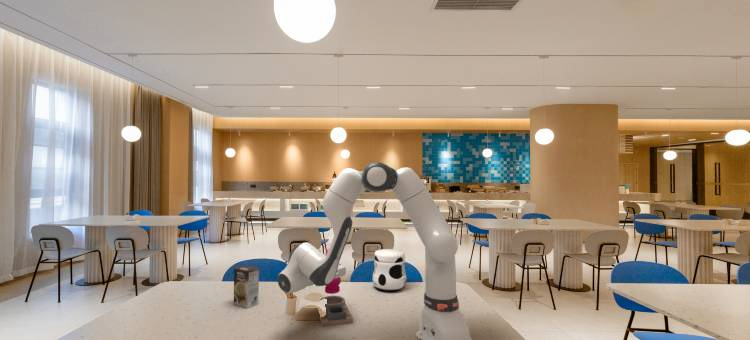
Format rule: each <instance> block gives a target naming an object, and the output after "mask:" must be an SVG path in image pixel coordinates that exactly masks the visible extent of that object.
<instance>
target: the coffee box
mask: <svg viewBox="0 0 750 340" xmlns="http://www.w3.org/2000/svg"><path fill="white" fill-rule="evenodd" d="M259 276H260V268H259V267H257V266H256V267H255V266H252V265H251V266H249V265H241V266H238V267H234V268H233V305H234V306H237V307H241V308H243V309H244V308H246V309H251V308H252V307H254V306H255V307H256V305H259V290H260V289H259V288H260V287H259V286H260V285H259V284H260V283H259V282H260V277H259Z"/></svg>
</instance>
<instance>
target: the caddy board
mask: <svg viewBox="0 0 750 340" xmlns="http://www.w3.org/2000/svg"><path fill="white" fill-rule="evenodd" d="M324 298H325V299H327V304H325V307H326V315H325V316H324V317H321V319H320V318H319V321H320V324H321V327H325V326H326V327H327V326H328V327H329V326H336V325H344V324H345V325H346V324H352V323H354V318H353V316H352V314H351V312H350V310H349V308H348V306H347V304H346V299H345V297H343V296H340V295H334V294H332V295H326V296H323V297H321V298H320V299H319V300H322V299H324Z"/></svg>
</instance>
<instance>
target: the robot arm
mask: <svg viewBox="0 0 750 340" xmlns="http://www.w3.org/2000/svg"><path fill="white" fill-rule="evenodd" d="M332 181H333V182H332V183H331V185H330V187H329V188H328V190H327V191H326V193H325V195H324V197H323V199H322V209H323V212H324V214H325V216H326V218H327V219H328V221H329V222H330V224H331V227H332V229H333V237H332V240H331V243H330V245H329V248H328V249H329V250H328V249H327V250H328V252H327V255H326V256H325V254H324V253H323V252H322V251H320V250H319V249H318V248H317V247H316V246H314V245H312V244H311V243H310V242H308V241H306V242H305V241H304V242H301V243H298V244H297V245H295V246H294V247H293V248H292V249H291V251H290V253H289V255H288V261H287V265H286V266H285V268H284V269H283V270H282V271H281V272H279V274H278V276H277V284H278V287H279V288H280V290H282V292H284V293H286V294H293V293H297V292H299V291H302V290H304V289H306V288H307V287H311V286H313V285H315V287H323V286H324V287H326V285H328V284H330V283H331V282H332V280H333V279H335V278H339V277H340V278H342V277H344V276H346V274H347V273H346V272H347V271H346V270H347V269H346V266H345V265H342V264H341V263H340V260H341V257H342V255H343V253H344V251H345V247H346V244H347V243H348V239H349V237H350V234H351V231H352V228H353V219H352V211H353V209H354V205H355V203H356V202H357V200H358V198H359V196H360V195H361V194H362V193H363V192H365V191H367V192H372V193H374V194H380V193H381V194H382V193H385V192H386V191H391V192H393V193H394V195H395V196H396V197H397V199H398V201H399V202H400V204H401V205H402V206H401V207H402V208H403V209H404V211H405V213H406V215H407V216H408V218H409V220H410V222H411V223H412V225H413V227H414V229H415V231H416V233H417V235H418V237H419V238H420V240H421V242H422V244H423V246H424V247H425V248H424V260H425V263H424V266H425V269H424V274H425V275H424V276H425V284H424V293H423V303H424V305H423V306H424V307H423V308H422V310H421V311H420V318H419V319H420V320H419V329H418V331H416V332H415V333H416V334H415V337H416V338H418V340H420V339H421V340H473V339H472V337H471V334H470V332H471V331H470V328H471V325H470V322H469V321H466V320H465V318H464V314H463V313H462V312H461V311H460V302H459V299H458V295H457V270H456V269H457V268H456V253H457V252H458V249H459V243H458V239H457V237H456V235H455V234H454V232H453V230H452V229H451V227H450V226H449V223H448V222H447V219H446V218H445V217H444V215H443V213H442V211H441V210H440V208H439V207H438V205H437V204H436V201H435V199H433V197H432V195H431V194H430V191H429V190H428V188H427V186H426V185H425V183H424V182H423V180H422V179H421V178H420V177H419V175H418V174H417V173H416V172H415V171H414V169H412V168H411V167H407V166H406V167H401V168H399V169H395V168H393V167H391V166H389V165H387V164H386V163H384V162H380V161H373V162H371V163H368V164H367V165H366V166H365V167H364V169H363V170H362V171H359V170H357V169H355V168H352V167H347V168H344V169H342V170H341V171H340V172H339V174H338V175H337V176H336V177H335V178H334V180H332Z"/></svg>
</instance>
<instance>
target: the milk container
mask: <svg viewBox="0 0 750 340" xmlns="http://www.w3.org/2000/svg"><path fill="white" fill-rule="evenodd" d="M373 264H374V270H373V273H372V284H373V286H374V287H375V288H377V289H378V290H380V291H386V292H387V291H388V292H393V291H399V290H402V289H404V288H405V286H406V284H407V279H408V278H407V273H406V269H405V268H406V254H405V251H404V250H400V249H395V248H383V249H377V250H375V251H374V263H373Z"/></svg>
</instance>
